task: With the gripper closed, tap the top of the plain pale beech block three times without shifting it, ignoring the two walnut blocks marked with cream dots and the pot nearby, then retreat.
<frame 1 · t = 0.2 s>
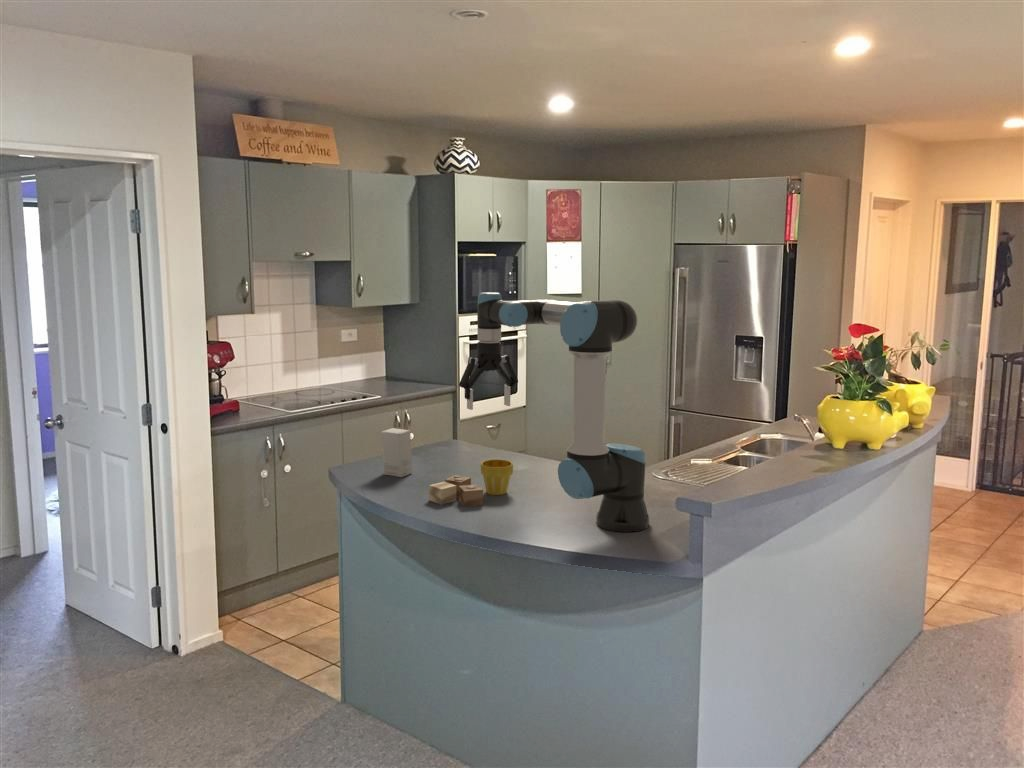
hand: (488, 407, 276), 28 cm above the table, fingers open, 13 cm apart
skincare box: (397, 474, 299), on the table
plant pot: (496, 492, 278), on the table
marked block a: (470, 503, 267), on the table
marked block b: (458, 493, 277), on the table
plain block: (442, 500, 269), on the table
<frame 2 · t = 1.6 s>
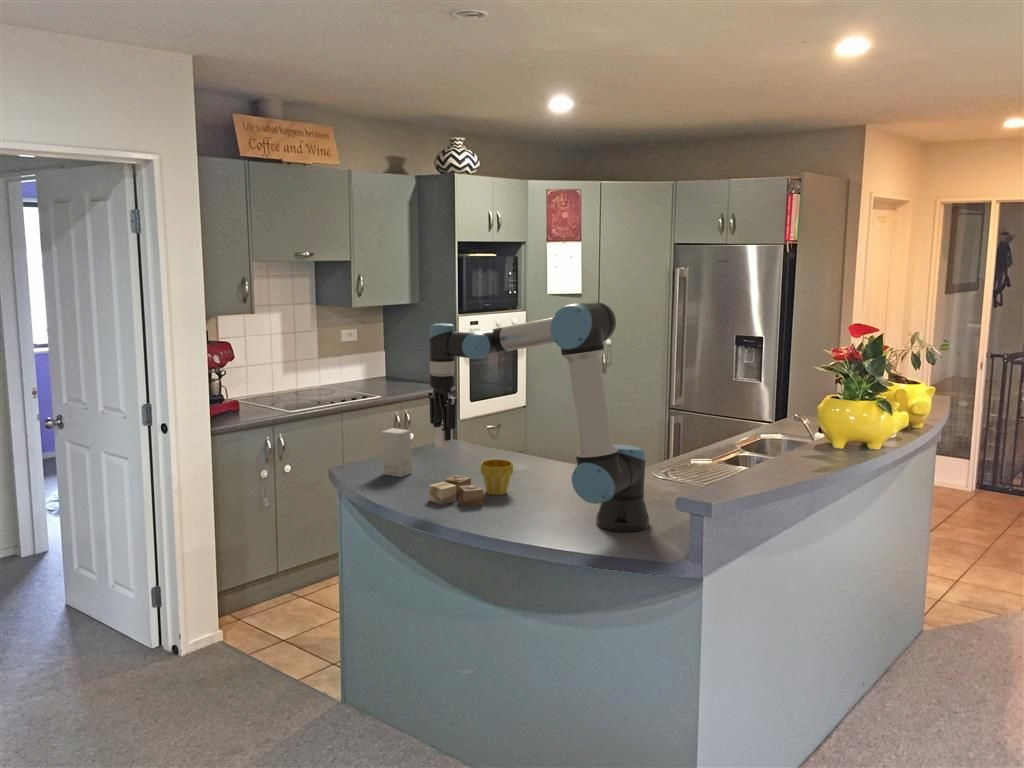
hand: (442, 448, 266), 17 cm above the table, fingers open, 4 cm apart
nothing on the table moved.
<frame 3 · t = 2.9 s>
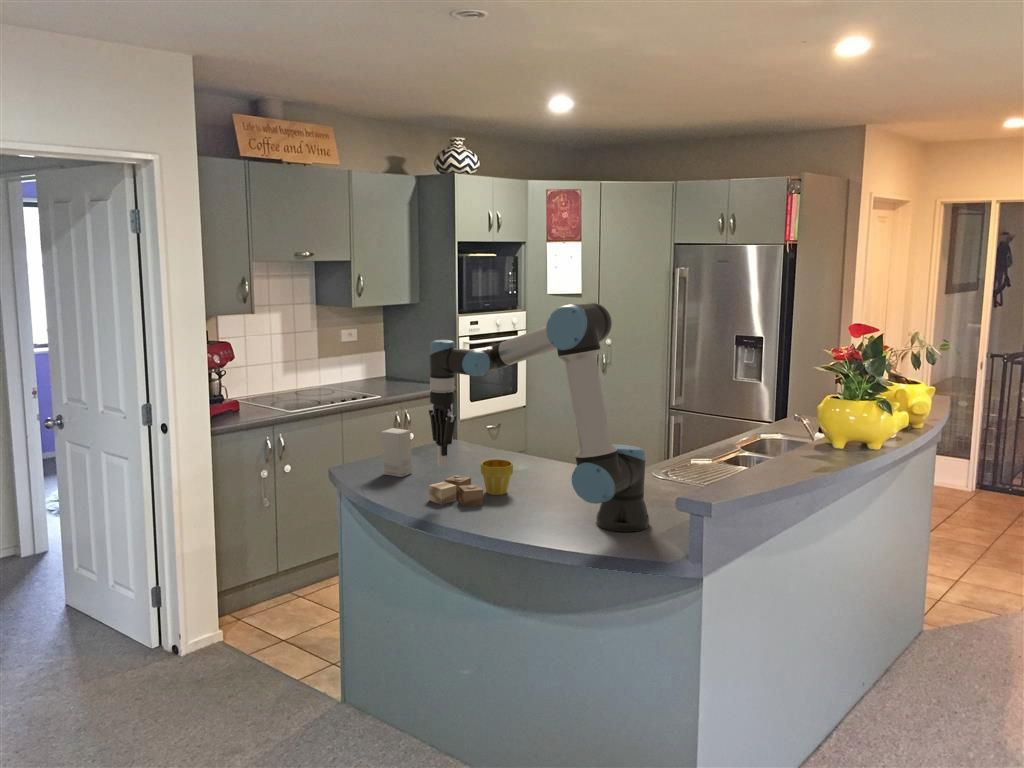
hand: (442, 465, 267), 11 cm above the table, fingers closed
nothing on the table moved.
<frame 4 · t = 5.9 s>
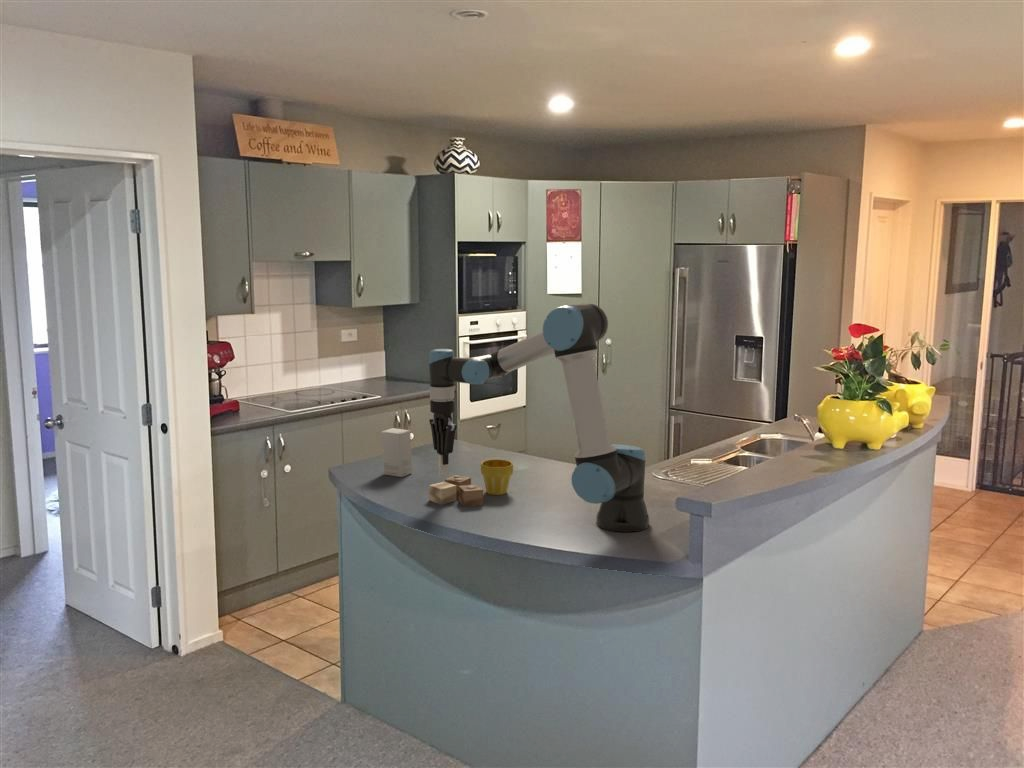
hand: (443, 473, 268), 9 cm above the table, fingers closed
nothing on the table moved.
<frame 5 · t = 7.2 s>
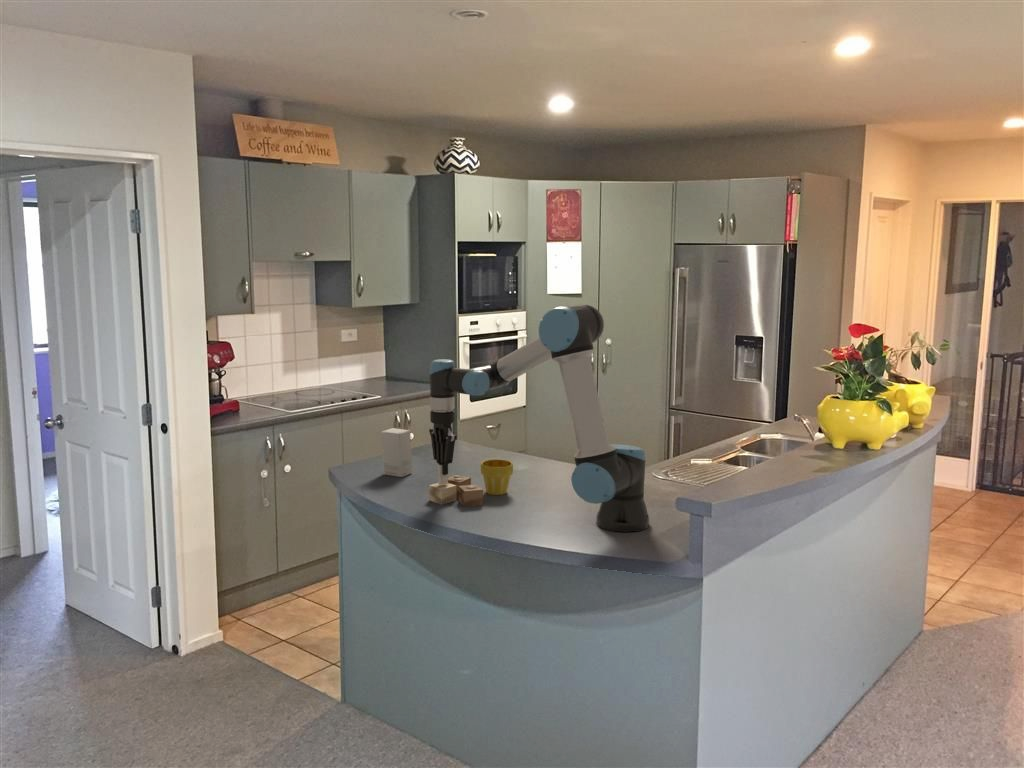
hand: (443, 483, 268), 5 cm above the table, fingers closed
nothing on the table moved.
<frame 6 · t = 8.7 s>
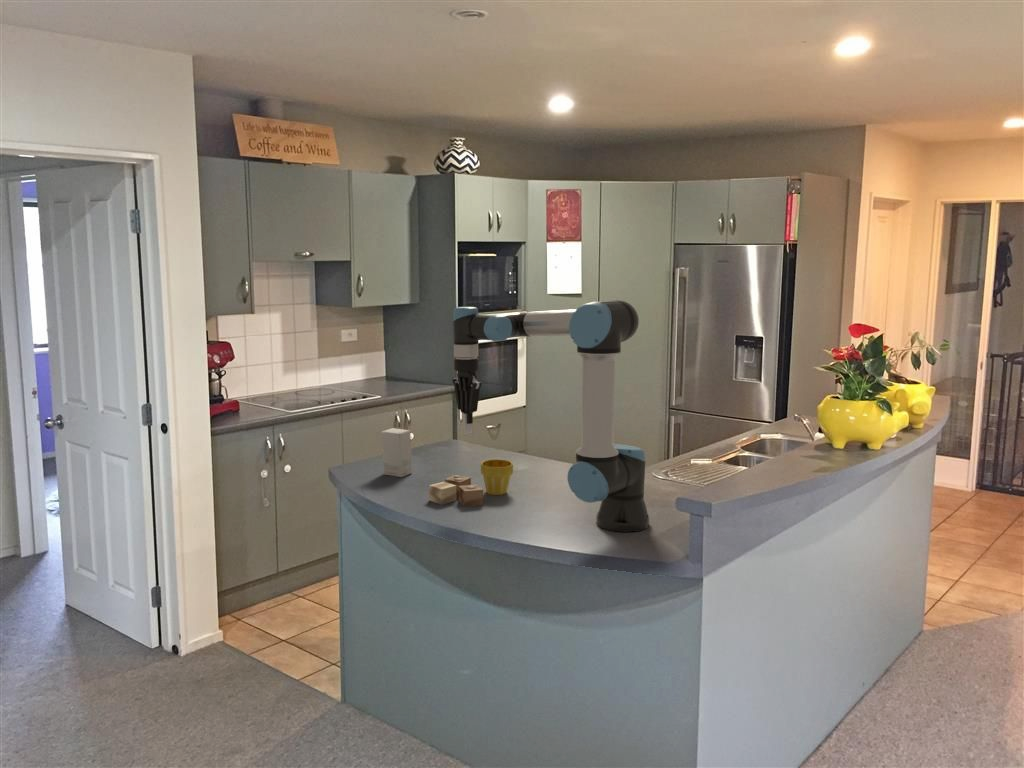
hand: (467, 433, 266), 22 cm above the table, fingers closed
nothing on the table moved.
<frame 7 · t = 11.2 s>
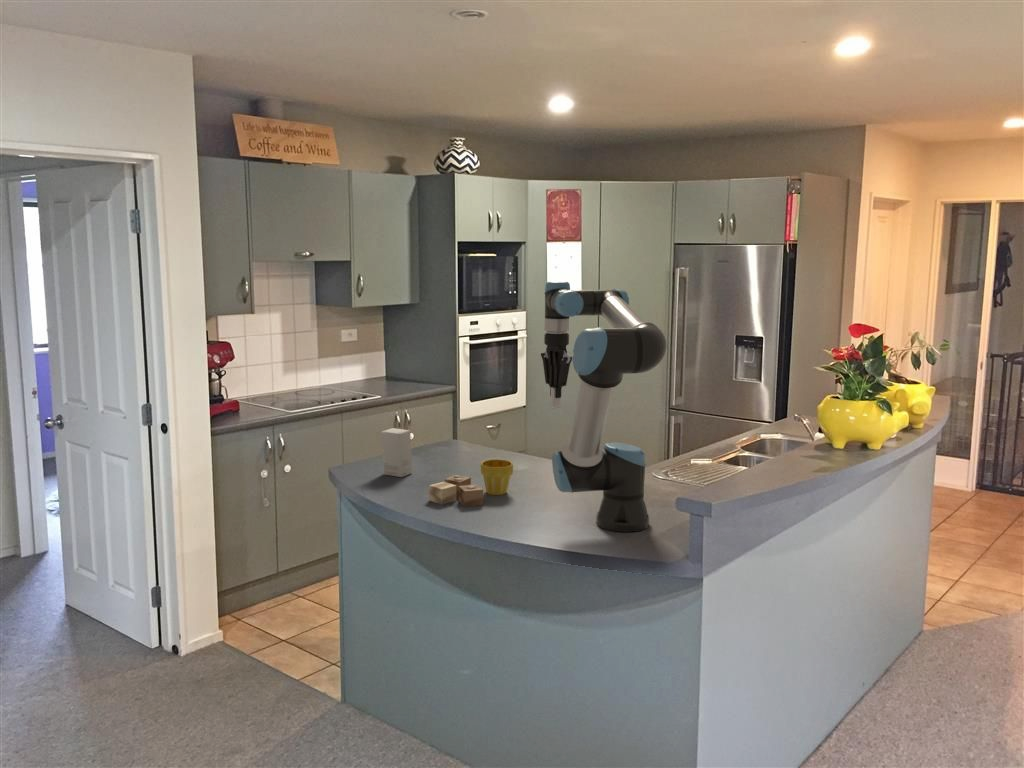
hand: (555, 407, 267), 29 cm above the table, fingers closed
nothing on the table moved.
at the end: plain block moved 0.2 cm from its start; plain block tilted 0°; marked block a touching table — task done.
